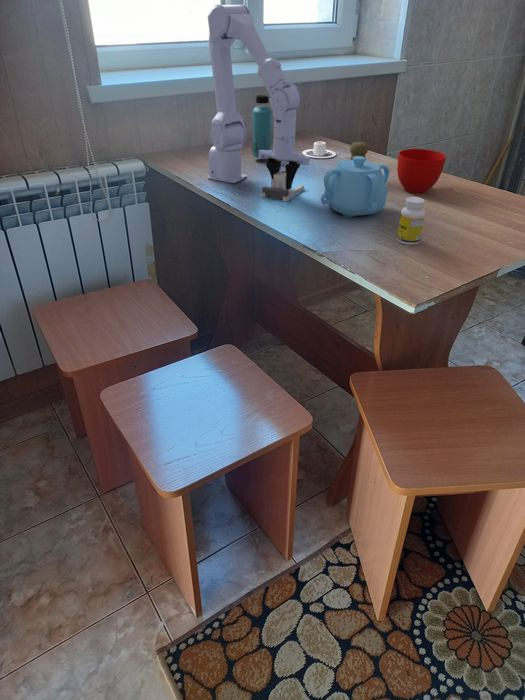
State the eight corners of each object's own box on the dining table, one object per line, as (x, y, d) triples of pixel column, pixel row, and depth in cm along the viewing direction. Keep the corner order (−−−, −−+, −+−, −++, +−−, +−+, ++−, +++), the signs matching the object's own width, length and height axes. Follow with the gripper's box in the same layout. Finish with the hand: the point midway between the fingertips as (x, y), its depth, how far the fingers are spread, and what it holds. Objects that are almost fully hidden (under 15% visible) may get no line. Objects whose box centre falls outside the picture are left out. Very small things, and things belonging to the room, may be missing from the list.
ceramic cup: (452, 187, 152) (460, 152, 147) (424, 200, 142) (432, 163, 137) (413, 177, 160) (419, 144, 154) (384, 189, 149) (390, 154, 144)
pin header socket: (261, 196, 143) (261, 180, 140) (279, 185, 151) (280, 169, 149) (286, 201, 140) (287, 185, 137) (304, 189, 149) (305, 173, 146)
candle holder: (302, 150, 186) (303, 137, 183) (335, 151, 185) (337, 139, 182) (301, 159, 176) (302, 146, 174) (336, 160, 175) (337, 147, 173)
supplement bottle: (393, 236, 121) (400, 195, 116) (415, 236, 122) (423, 195, 116) (400, 245, 117) (407, 203, 111) (423, 245, 117) (431, 203, 112)
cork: (364, 184, 154) (369, 145, 147) (344, 182, 155) (348, 144, 148) (365, 178, 158) (370, 140, 152) (346, 176, 159) (350, 139, 153)
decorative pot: (311, 213, 133) (315, 159, 125) (336, 196, 144) (341, 145, 136) (371, 226, 126) (379, 170, 119) (392, 207, 138) (400, 154, 130)
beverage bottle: (274, 159, 174) (276, 94, 162) (264, 164, 169) (265, 97, 158) (258, 156, 177) (259, 92, 165) (248, 160, 172) (248, 95, 161)
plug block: (273, 194, 144) (273, 173, 141) (280, 189, 148) (280, 169, 144) (284, 196, 143) (285, 175, 140) (291, 191, 146) (292, 171, 143)
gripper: (315, 137, 137) (311, 187, 144) (266, 130, 142) (266, 179, 150) (304, 142, 131) (301, 194, 139) (254, 135, 137) (254, 186, 145)
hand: (282, 187), depth 144 cm, fingers closed on plug block, 3 cm apart
